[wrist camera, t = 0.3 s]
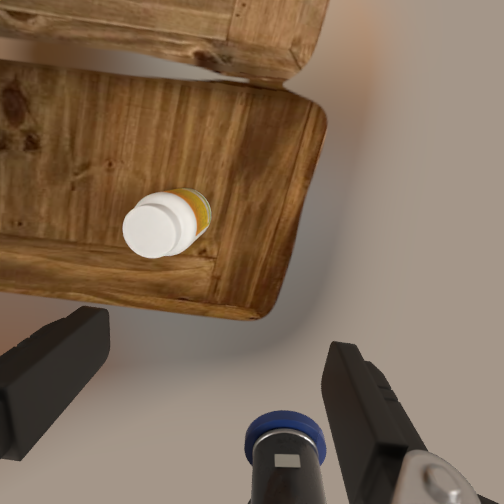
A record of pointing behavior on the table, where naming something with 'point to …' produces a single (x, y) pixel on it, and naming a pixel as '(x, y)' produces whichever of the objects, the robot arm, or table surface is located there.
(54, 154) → the table surface
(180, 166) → the table surface
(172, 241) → the supplement bottle
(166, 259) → the table surface
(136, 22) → the table surface
